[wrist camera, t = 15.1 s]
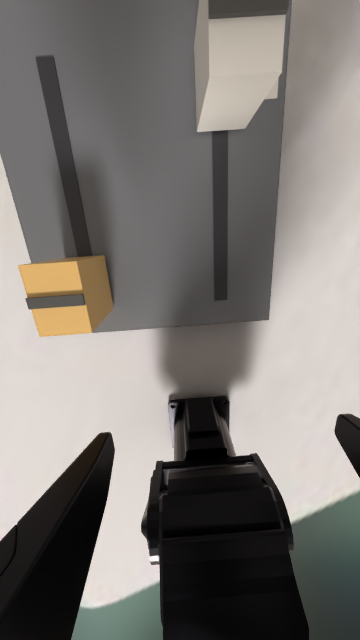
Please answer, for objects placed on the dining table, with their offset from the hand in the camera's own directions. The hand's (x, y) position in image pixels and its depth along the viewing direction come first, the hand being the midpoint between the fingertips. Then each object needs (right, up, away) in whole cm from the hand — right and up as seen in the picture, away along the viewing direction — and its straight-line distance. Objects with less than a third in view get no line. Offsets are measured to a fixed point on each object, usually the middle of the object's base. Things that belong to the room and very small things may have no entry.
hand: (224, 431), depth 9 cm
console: (-4, +14, +9) cm, 17 cm away
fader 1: (-9, +7, +8) cm, 14 cm away
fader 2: (+1, +18, +4) cm, 19 cm away
